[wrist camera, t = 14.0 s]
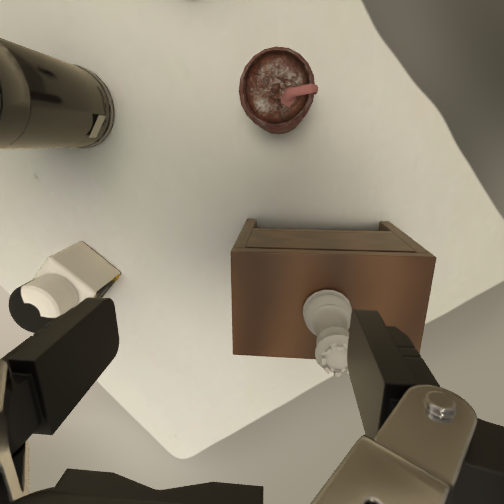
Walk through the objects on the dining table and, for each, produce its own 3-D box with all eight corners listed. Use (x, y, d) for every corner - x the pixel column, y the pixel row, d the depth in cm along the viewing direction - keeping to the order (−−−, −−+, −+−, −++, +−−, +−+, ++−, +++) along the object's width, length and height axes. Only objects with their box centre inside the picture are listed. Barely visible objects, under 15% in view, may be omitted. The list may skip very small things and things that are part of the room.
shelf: (247, 295, 47) (232, 354, 34) (247, 218, 44) (230, 251, 31) (379, 300, 46) (417, 365, 32) (389, 221, 42) (436, 257, 29)
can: (310, 128, 40) (323, 121, 27) (257, 138, 41) (244, 135, 28) (304, 72, 38) (314, 34, 25) (249, 83, 39) (231, 52, 26)
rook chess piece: (343, 334, 32) (361, 393, 25) (297, 324, 32) (301, 380, 25) (356, 293, 31) (380, 342, 23) (308, 282, 31) (316, 328, 23)
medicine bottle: (96, 305, 50) (41, 352, 39) (56, 274, 49) (-12, 313, 38) (122, 272, 48) (72, 312, 37) (81, 239, 47) (17, 270, 36)
